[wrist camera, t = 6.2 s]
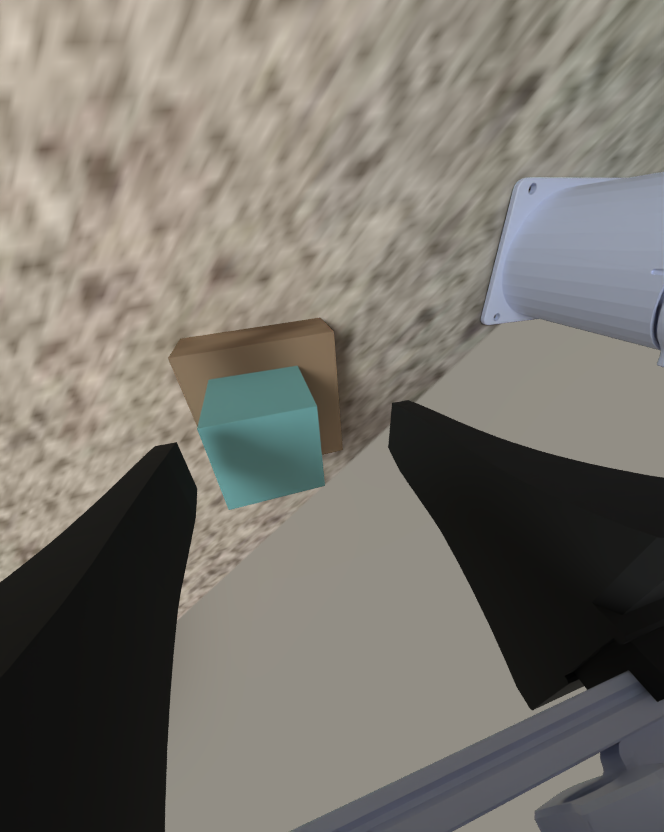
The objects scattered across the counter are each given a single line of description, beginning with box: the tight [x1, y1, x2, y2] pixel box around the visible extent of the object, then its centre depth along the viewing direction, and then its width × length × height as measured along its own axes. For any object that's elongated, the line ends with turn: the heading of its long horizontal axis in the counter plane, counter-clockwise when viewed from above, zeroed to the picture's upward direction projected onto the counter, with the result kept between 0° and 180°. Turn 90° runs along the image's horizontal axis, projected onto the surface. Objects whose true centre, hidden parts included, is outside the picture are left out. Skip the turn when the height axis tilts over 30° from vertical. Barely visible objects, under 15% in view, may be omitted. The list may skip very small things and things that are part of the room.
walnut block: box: [168, 318, 343, 455], centre depth 17 cm, size 8×8×4 cm
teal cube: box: [197, 366, 325, 510], centre depth 14 cm, size 4×4×4 cm
